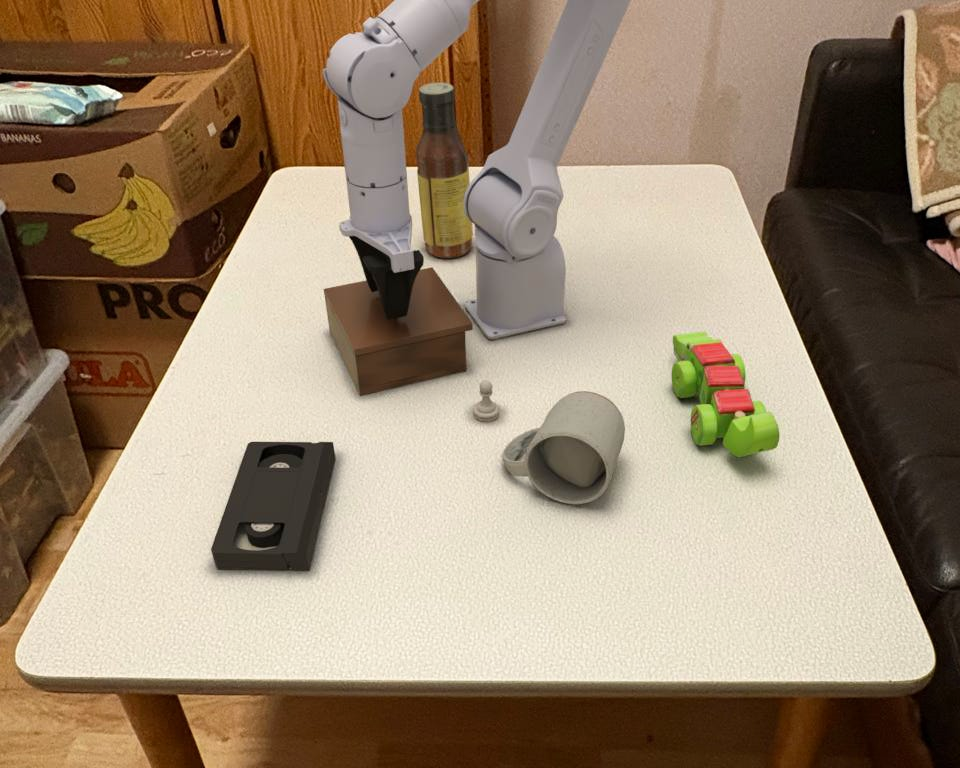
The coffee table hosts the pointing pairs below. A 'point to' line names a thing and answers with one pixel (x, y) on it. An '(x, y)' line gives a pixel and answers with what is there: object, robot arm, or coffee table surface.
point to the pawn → (486, 404)
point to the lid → (372, 330)
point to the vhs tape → (275, 507)
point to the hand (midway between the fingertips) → (388, 302)
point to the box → (400, 360)
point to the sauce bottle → (442, 175)
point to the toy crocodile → (720, 396)
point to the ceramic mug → (571, 448)
